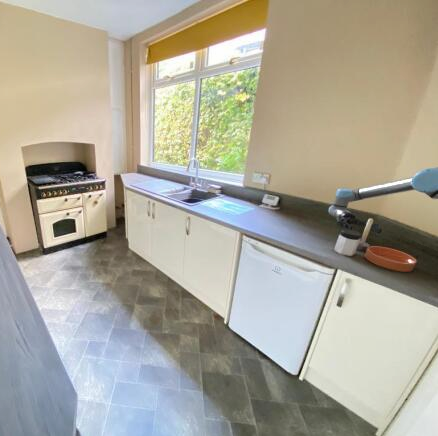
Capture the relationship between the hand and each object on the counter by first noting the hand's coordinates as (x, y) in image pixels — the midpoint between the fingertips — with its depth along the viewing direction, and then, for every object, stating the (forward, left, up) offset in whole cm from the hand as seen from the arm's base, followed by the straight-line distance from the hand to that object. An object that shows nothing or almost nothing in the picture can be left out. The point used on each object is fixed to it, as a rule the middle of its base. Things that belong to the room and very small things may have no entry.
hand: (365, 229), depth 129 cm
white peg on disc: (-1, +1, -11) cm, 11 cm away
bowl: (-11, +13, -11) cm, 20 cm away
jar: (+6, +13, -11) cm, 18 cm away
